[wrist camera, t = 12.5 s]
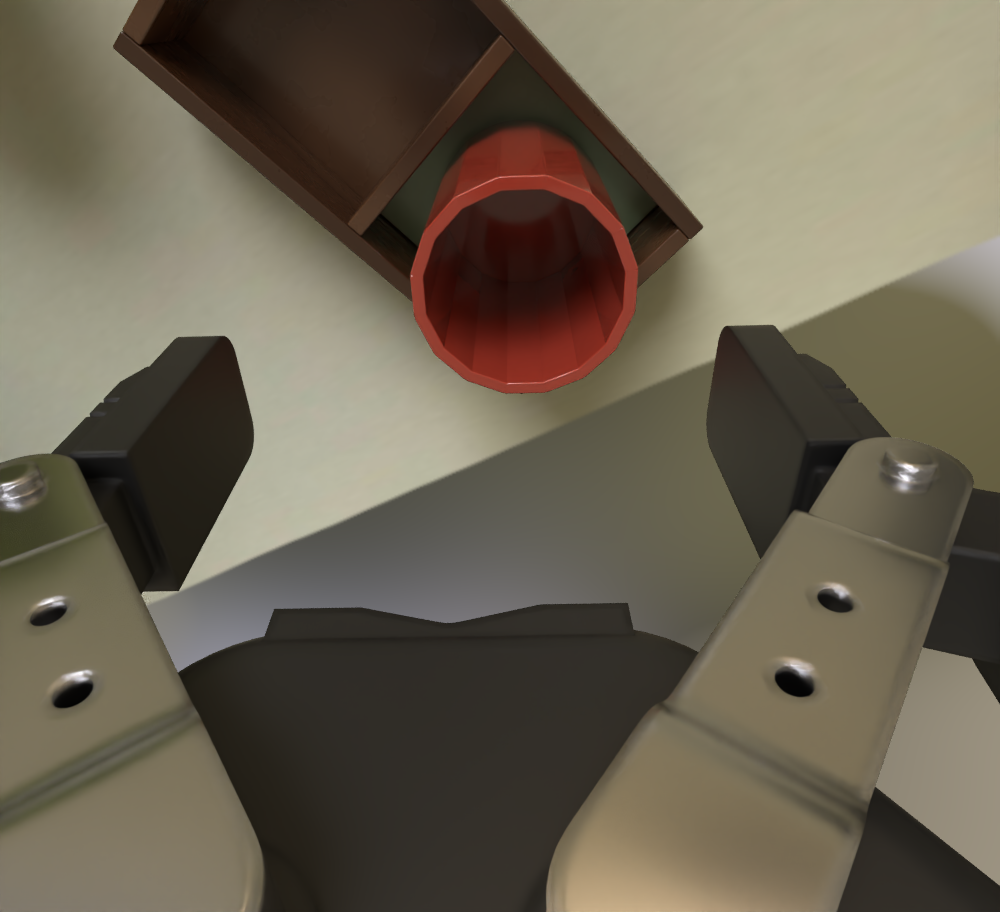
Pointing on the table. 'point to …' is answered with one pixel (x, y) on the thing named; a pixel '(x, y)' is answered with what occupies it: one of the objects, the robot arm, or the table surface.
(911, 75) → the table surface
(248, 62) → the caddy
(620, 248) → the cup
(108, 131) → the table surface
